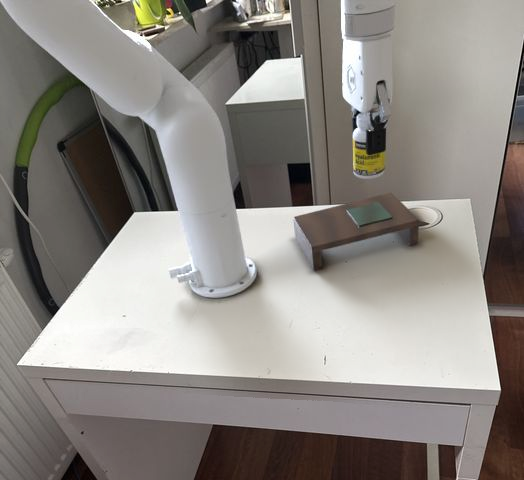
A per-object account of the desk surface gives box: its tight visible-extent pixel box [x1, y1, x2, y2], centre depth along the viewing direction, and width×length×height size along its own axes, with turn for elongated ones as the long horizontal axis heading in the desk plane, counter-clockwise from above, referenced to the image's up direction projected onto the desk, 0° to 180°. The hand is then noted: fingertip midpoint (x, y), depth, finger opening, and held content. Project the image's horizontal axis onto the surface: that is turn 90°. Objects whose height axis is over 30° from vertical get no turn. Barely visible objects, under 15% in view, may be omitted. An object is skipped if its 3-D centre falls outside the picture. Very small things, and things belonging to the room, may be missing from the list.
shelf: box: [292, 192, 420, 272], centre depth 98 cm, size 20×12×5 cm, turn 103°
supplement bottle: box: [352, 112, 386, 180], centre depth 88 cm, size 5×5×10 cm
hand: (368, 145), depth 88 cm, fingers closed on supplement bottle, 5 cm apart
